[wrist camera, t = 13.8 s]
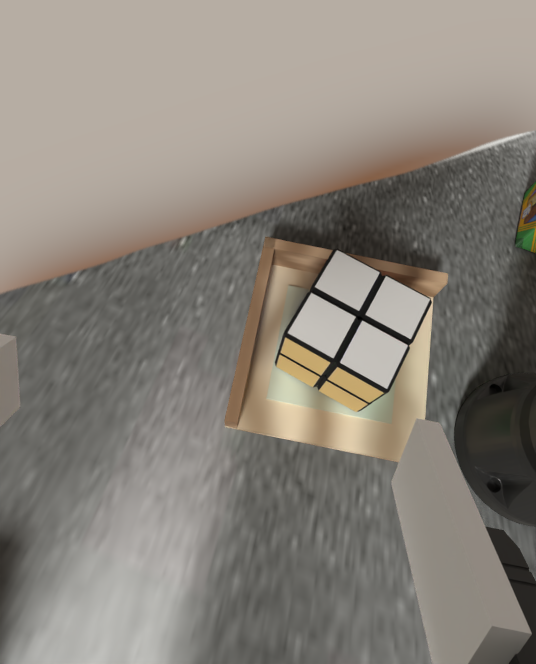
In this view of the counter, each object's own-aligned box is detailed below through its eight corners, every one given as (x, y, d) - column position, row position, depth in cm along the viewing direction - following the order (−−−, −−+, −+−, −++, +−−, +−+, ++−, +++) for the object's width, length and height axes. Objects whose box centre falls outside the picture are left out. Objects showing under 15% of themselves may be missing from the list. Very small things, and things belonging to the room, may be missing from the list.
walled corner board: (431, 290, 53) (447, 273, 49) (418, 466, 46) (436, 463, 42) (263, 256, 53) (265, 236, 49) (225, 426, 46) (224, 420, 42)
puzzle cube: (316, 291, 50) (335, 245, 41) (397, 334, 49) (435, 297, 40) (272, 366, 47) (282, 334, 38) (358, 414, 46) (389, 394, 37)
